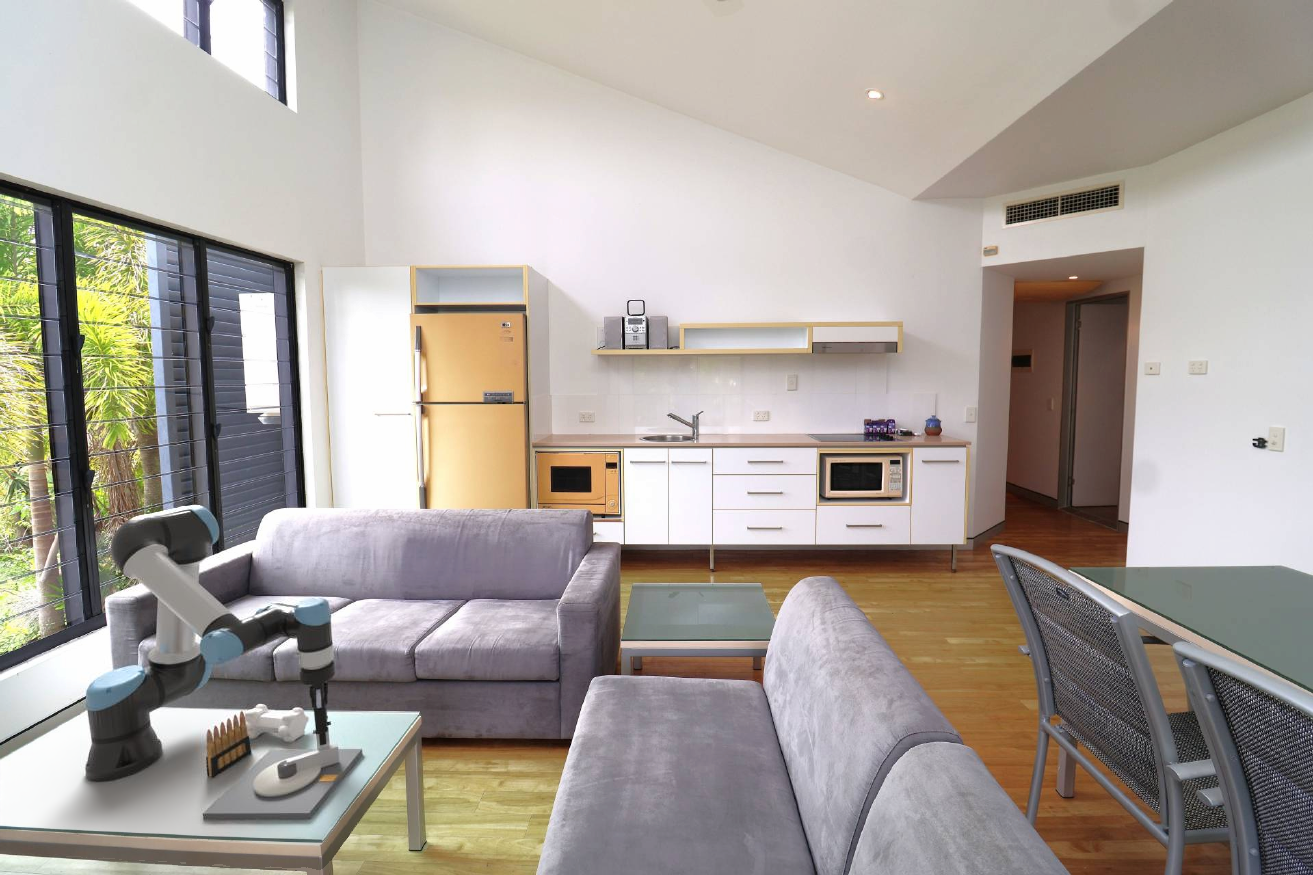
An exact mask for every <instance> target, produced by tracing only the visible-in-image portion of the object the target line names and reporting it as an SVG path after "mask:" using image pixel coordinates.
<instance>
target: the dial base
mask: <svg viewBox="0 0 1313 875" xmlns="http://www.w3.org/2000/svg"><path fill="white" fill-rule="evenodd" d="M315 750H317V748H315V749H313V748H310V749H309V748H306V749H305V748H304V749H301V748H299V749H298V748H296V749H295V748H293V749H290V748H289V749H286V748H285V749H269V751H268V752H266V753H265V754H264V755H263V756H262V757H261V758H260V759H258V761H257V762H255V763H254V764H253V765H252V766H251V767H250V768H249V769H248V770H247V771H246V772H244V774H243V775H242V776H241V777H240V778H238V779H237V780H236V781H235V782H234V783H233V784H232V785H231V786H230V787H229V788H228V789H227V790H226V791H224V793H223V794H221V795H220V797H218V798H217V799H216V800H215V801H214V802H213V803H212V804H210V805H209V807H208V808H207V809H206V810H205V811H203V813H202V819H203V820H202V821H210V820H211V821H221V820H223V821H224V820H225V821H227V820H228V821H230V820H231V821H232V820H233V821H237V820H238V821H239V820H241V821H242V820H249V821H250V820H252V821H253V820H254V821H255V820H257V821H258V820H262V821H263V820H275V821H276V820H311V818H312V817H313V816H314V815H315V813H316V812H317V811H318V810H319V808H321V806H322V805H323V804H324V802H325V801H326V800H327V799H328V797H329V796H330V795H331V794H332V793H333V792H334V790H335V789H336V788H337V787H338V785H339V784H340V783H341V782H342V781H343V779H344V778H345V777H346V775H348V773H349V772H350V771H351V769H353V766H355V764H356V763H357V762H358V761H359V759H360V758H361V757H362V756H363V749H362V748H338V751H339V762H337V763H334V764H331V765H328V766H325V767H322V768H321V772H320V774H319V775H318V777H317V778H316V779H315V780H314V781H313V782H311V783H310V784H309V785H307V786H305V787H304V788H302V789H300V790H297V791H295V792H292V793H289V794H286V795H282V796H276V797H264V796H260V795H258V794H256V793H255V791H254V787H253V782H254V780H255V778H256V777H257V775H258V774H259V773H261V772H262V771H263V770H264V769H266V768H267V767H269V766H271V765H273V764H275V763H277V762H279V761H282V760H285V759H289V758H292V757H296V756H299V755H302V754H305V753H308V752H312V751H315Z"/></svg>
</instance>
